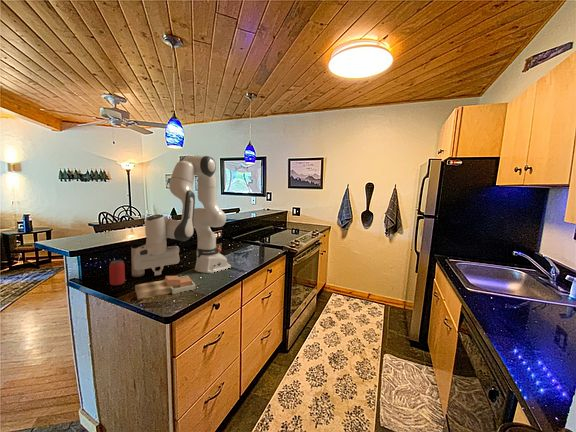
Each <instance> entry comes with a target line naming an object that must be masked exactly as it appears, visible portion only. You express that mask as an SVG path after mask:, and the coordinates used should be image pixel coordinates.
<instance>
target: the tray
mask: <svg viewBox="0 0 576 432" xmlns="http://www.w3.org/2000/svg"><path fill="white" fill-rule="evenodd" d="M178 277H179V278H186V277H189V275H184V276H178ZM170 287H171V293H170V294H172V295H178V294H181V293H180V292H182V293H185V292H184V291H187V292H190V291H189V290H192V291H195V290H194V289H197V286H196V284H195V282H194V281H193V280H192V285H191V286H186V287H181V288H179V286H178V285H174V286H170ZM177 293H178V294H177Z"/></svg>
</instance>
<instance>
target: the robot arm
mask: <svg viewBox="0 0 576 432" xmlns="http://www.w3.org/2000/svg"><path fill="white" fill-rule="evenodd" d="M216 169H217V164H216V161H215V159H214V158H213V157H211V156H207V155H190V156H189V155H186V156H183V157H180V159H179V161H178V162H176V164H175V166H174V168H173V171H172V173H171V177H170V180H169V190H170V192H171V194H172V195H173V196H174V197H176V198H178V199H179V200H180V201H181V202H182V203H181V204H182V208H181V209H182V211H181V219H180V220H178V219H177V220H176V219H172V218H168V217H166V216H164V214H151V215H149V216H148V217H147V218H146V219H145V223H144V224H145V227H144V229H145V231H144V232H145V237H146V241H145V244H144V245H143V246H141V247H138V248H136V250H135V252H136V254H135V255H134V259H133V268H134V269H135V270H142V269H145V270H147V269H151V270H152V271H153V272H154V273H153V275H154V276H160V275H162V271H163V270H164V266H170V265H176V264H179V262H180V255H179V253H180V247H179V246H178V245H171V246H168V245H167V239H171V240H172V239H173V240H177V241H180V242H186V241H188V240H190V239H191V238H192V237H193V235H194V233H195V231H196V235H197V236H196V237H197V247H196V262H195V266H194V271H196V272H198V273H207V274H215V273H217V271H218V272H222V271H226V270H229V269H228V268H230V269H231V268H232V266H231V264H230V263H228V259H227V257H226V256H225V255H223V254H221V252H222V249H221V247H217V236H216V233H214V231H212V229H211V228H222V227H223V226H224V225H225V224H226V221H227V215H226V213H225V212H224V211H223V210H222V209H221V207H220V204H219V201H218V198H217V180H216V179H217V178H216V173H215V172H216ZM195 176H196V177H197V200H198V201H199V202H200V203H201V204H202V206H203V208H202V207H197V208H196V207H195V206H196V196H195V193H194V191H193V184H194V179H195ZM158 267H159V270H156V268H158ZM225 269H226V270H225ZM221 270H222V271H221ZM214 272H215V273H214Z"/></svg>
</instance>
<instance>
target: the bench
mask: <svg viewBox="0 0 576 432" xmlns="http://www.w3.org/2000/svg"><path fill="white" fill-rule="evenodd" d="M134 292H135V295H136V299H137V301H138V300H139V301H140V300H143V299H144V300H145V299H148V298H155V297H158V296H163V295H168V294H172V293H171V287H170V286H167V285H166V283H165V279H163V280H158V281H151V282H144V283H140V284H135V285H134Z"/></svg>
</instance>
